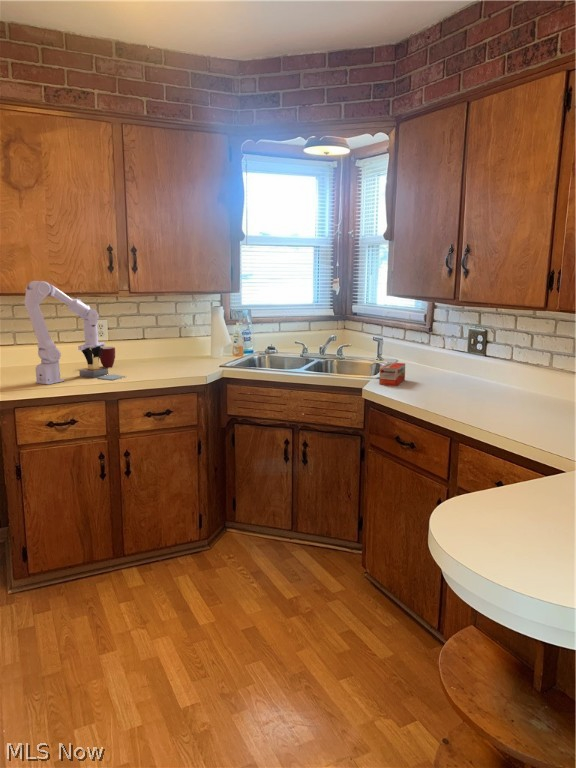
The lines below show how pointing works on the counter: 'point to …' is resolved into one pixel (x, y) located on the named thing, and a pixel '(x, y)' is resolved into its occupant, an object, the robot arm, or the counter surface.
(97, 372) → the block
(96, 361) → the beige block
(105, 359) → the mug
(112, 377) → the slate mat
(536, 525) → the counter surface
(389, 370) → the medicine box
